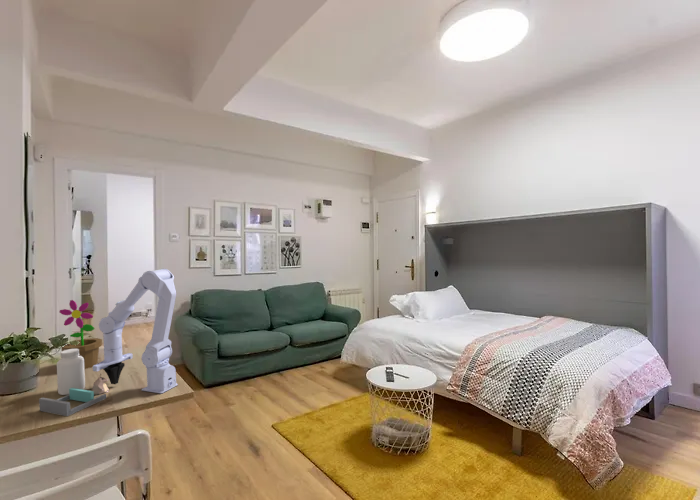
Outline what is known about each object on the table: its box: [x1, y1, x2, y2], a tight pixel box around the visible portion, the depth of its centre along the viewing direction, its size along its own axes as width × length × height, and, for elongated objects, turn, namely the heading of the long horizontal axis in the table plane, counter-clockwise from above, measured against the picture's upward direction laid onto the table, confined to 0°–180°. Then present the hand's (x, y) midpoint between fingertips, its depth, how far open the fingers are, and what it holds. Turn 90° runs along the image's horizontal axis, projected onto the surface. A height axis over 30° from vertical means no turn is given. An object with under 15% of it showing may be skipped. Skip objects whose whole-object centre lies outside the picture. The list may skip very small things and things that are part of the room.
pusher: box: [69, 388, 95, 403], centre depth 123 cm, size 10×1×4 cm, turn 72°
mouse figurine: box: [91, 373, 110, 396], centre depth 130 cm, size 5×8×7 cm, turn 114°
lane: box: [38, 393, 107, 417], centre depth 121 cm, size 13×13×4 cm
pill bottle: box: [56, 349, 86, 396], centre depth 132 cm, size 8×8×15 cm
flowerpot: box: [59, 299, 103, 370], centre depth 157 cm, size 14×14×30 cm
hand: (114, 383), depth 135 cm, fingers closed
